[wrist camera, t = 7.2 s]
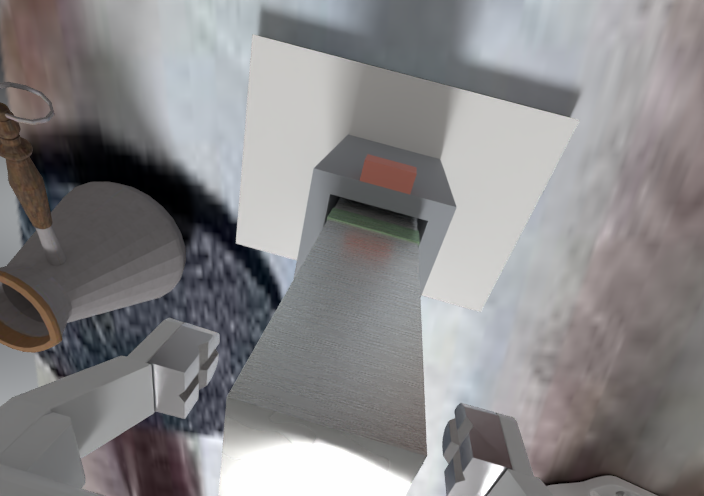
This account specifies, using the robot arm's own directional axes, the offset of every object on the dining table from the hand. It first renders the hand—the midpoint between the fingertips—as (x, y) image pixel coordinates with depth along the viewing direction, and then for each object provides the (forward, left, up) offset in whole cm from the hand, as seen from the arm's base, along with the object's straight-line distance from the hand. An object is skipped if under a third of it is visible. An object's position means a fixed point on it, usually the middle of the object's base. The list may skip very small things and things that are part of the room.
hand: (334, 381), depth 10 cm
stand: (0, 0, -20) cm, 20 cm away
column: (0, 0, -13) cm, 13 cm away
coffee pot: (+19, +6, -20) cm, 28 cm away
